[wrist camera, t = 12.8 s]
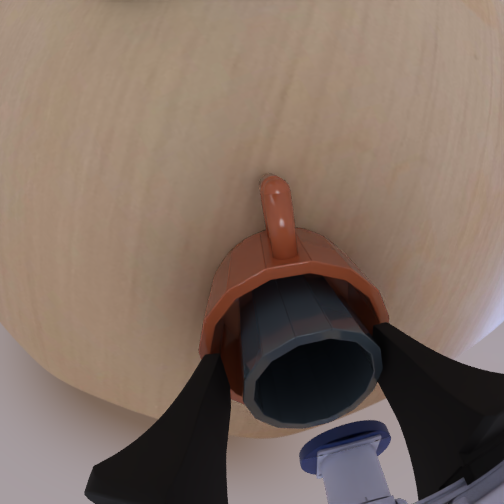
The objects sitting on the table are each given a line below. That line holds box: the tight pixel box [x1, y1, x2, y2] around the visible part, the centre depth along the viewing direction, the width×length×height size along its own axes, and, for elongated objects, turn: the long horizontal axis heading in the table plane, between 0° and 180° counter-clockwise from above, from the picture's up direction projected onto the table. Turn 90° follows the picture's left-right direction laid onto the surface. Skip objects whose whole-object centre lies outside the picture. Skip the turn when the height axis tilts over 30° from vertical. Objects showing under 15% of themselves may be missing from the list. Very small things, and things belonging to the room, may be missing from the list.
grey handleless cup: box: [238, 273, 383, 429], centre depth 12 cm, size 5×5×6 cm
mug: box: [199, 173, 389, 405], centre depth 13 cm, size 11×8×5 cm
